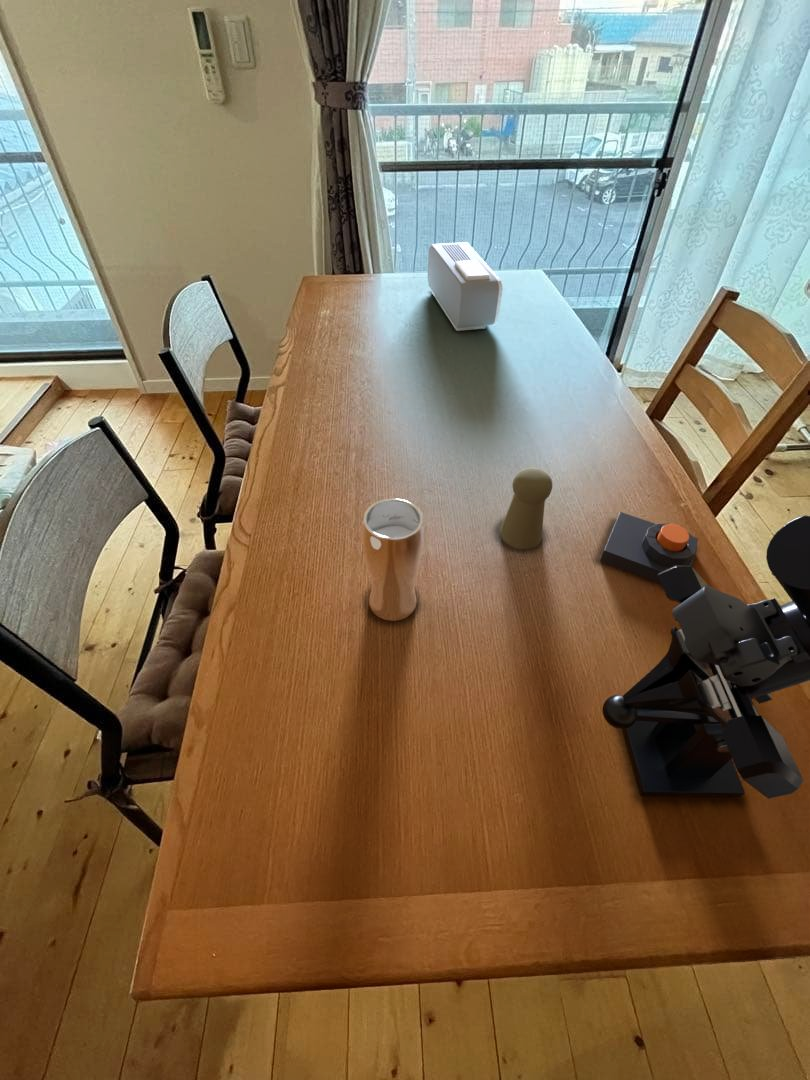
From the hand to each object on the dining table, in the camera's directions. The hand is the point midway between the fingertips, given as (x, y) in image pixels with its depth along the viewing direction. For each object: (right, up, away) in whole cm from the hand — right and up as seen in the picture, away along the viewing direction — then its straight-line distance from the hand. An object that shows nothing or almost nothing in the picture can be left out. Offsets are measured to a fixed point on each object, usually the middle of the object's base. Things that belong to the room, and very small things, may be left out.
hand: (625, 702), depth 50 cm
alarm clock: (-7, +70, +84) cm, 110 cm away
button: (+16, +14, +25) cm, 33 cm away
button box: (+14, +12, +29) cm, 34 cm away
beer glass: (-21, +6, +22) cm, 31 cm away
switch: (+4, -3, +3) cm, 6 cm away
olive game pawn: (-3, +15, +31) cm, 35 cm away
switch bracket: (+9, -8, +8) cm, 15 cm away
